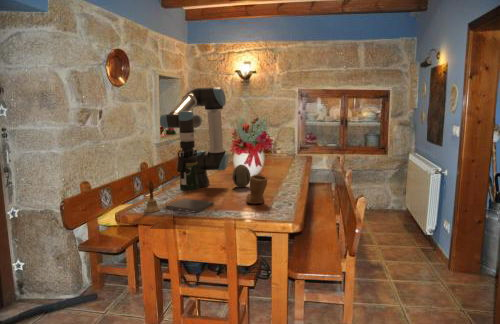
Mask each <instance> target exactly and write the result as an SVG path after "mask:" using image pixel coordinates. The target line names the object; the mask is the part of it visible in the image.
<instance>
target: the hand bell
mask: <svg viewBox="0 0 500 324" xmlns="http://www.w3.org/2000/svg"><path fill="white" fill-rule="evenodd" d="M154 188H155V186H154V183H153V180H151V179H150V180H149V183H148V191H149V199H148V200H147V203H146V207H145V208H144V210H143V212H144V213H157V212H160V211H161V208H160V207H159V205H158V203H157V202H158V201H157V199H155V198H154Z"/></svg>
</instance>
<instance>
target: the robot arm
mask: <svg viewBox="0 0 500 324" xmlns="http://www.w3.org/2000/svg"><path fill="white" fill-rule="evenodd" d="M225 106H226V94H225V92H224V90H223V89H222V87H215V86H214V87H213V86H212V87H197V88H194V89H192V90H190V91H188V92H187V93H185V95H183V96H182V99H181V101H180V102H179V103H178V104H177V105H176V106H175V107H174V108H173V109H172V110H171V111H170V112H169V113H168V114H167V113H166V114H161V116H160V118H159V124H160V127H162V128H164V129H179V141H180V142H179V148H180V149H181V152H177V155H178V157H177V170H176V171H177V172H178V173H180V174H181V184H182V185H186V172H185V168H186V161H184V162H183V159H184V158H185V159H188V158H189V156H196V157H197V166H196V170H197V178H198V185H199V188H205V187H209V186H210V185H211V184H210V183H211V182H210V179H209V176H208V174H207V173H208V172H207V171H225V170H226V169H228V165H229V161H230V160H229V159H230V156H229V153H228V152H226V149H225V148H224V145H223V144H224V141H223V125H222V110H224V107H225ZM196 107H204V110H205V111H206V112H207V125H208V138H209V141H208V142H209V149H208V150H207V151H206V149H205V150H204V149H202V150H198V151H197V149H194V148H195V147H196V145H195V141H194V140H195V129H196V128H198V127H200V126H201V125H202V124H203V120H202V116H201V115H200V114H198V113H194V111H192V110H193V109H194V108H196Z"/></svg>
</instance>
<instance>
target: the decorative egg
mask: <svg viewBox="0 0 500 324" xmlns="http://www.w3.org/2000/svg"><path fill="white" fill-rule="evenodd" d="M251 177H252V176H251V172H250V170H249V168H248V167H247V165H244V164H239V165H236V167H235V168H234V169H233V172H232V181H233V183H234V185H235V186H236V187H238V188H245V187H247V186H248V185H250V179H251Z"/></svg>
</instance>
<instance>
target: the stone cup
mask: <svg viewBox="0 0 500 324" xmlns="http://www.w3.org/2000/svg"><path fill="white" fill-rule="evenodd" d="M250 177H251V178H250V182H249V189H250V193H248V194H247V196H246V199H245V200H246V203H248V204H254V205H255V204H263V203H264V201H265V196H264V193H265V190H266V188H267V185H268V178H267V177H266V176H264V175H260V174H254V175H251V176H250Z"/></svg>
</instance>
